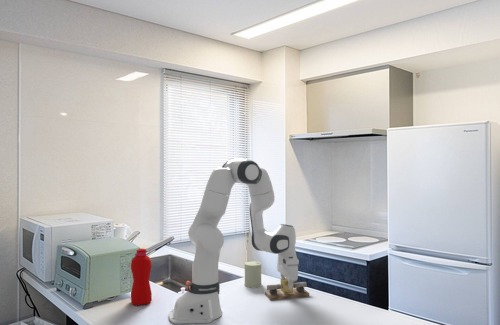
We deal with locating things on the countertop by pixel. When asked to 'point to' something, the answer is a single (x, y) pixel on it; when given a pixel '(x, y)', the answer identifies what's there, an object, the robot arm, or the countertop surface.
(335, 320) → the countertop surface
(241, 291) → the countertop surface
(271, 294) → the shaft mount
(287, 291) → the block
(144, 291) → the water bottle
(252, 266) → the can
